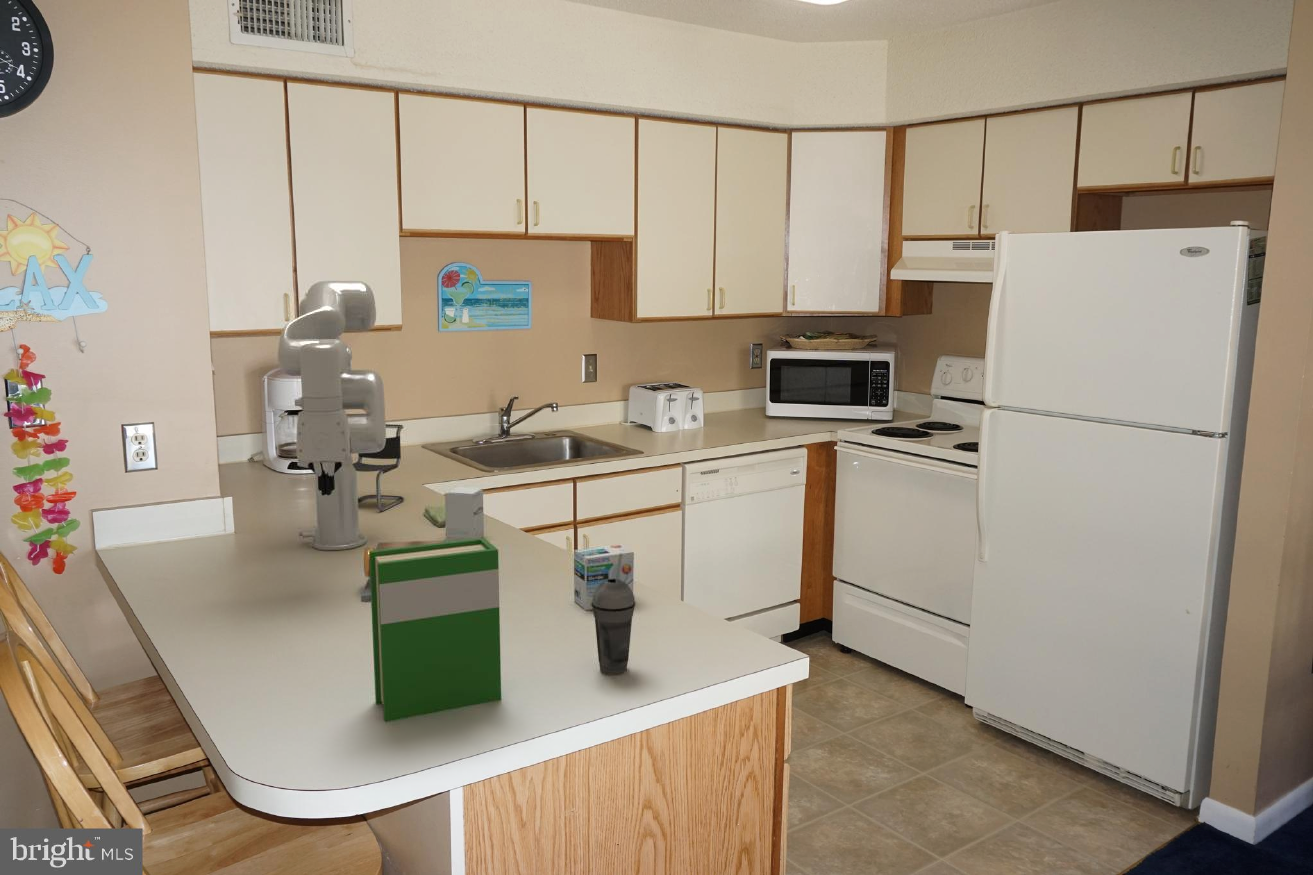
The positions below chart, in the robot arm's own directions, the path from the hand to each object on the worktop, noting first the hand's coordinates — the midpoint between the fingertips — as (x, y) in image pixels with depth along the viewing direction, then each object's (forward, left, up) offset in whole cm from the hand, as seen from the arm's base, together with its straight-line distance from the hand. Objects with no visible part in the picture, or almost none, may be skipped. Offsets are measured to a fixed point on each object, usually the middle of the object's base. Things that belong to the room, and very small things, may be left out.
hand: (326, 493), depth 198 cm
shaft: (+17, 0, -18) cm, 25 cm away
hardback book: (+25, -57, -21) cm, 66 cm away
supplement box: (+26, +36, -21) cm, 49 cm away
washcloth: (+22, +58, -21) cm, 65 cm away
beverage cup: (+53, -49, -21) cm, 75 cm away
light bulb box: (+55, -15, -21) cm, 61 cm away
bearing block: (+18, 0, -20) cm, 27 cm away
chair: (-1, +76, -21) cm, 78 cm away
